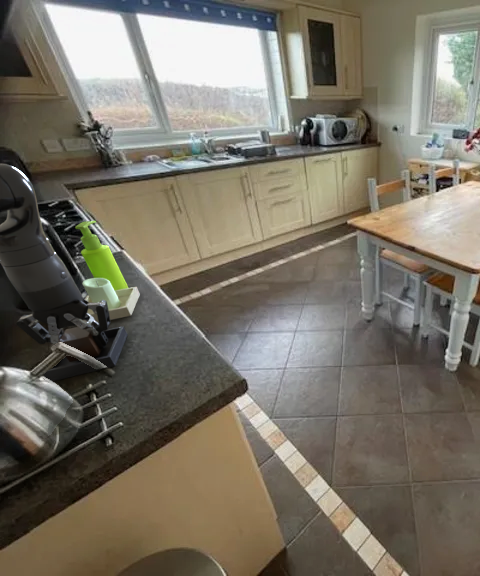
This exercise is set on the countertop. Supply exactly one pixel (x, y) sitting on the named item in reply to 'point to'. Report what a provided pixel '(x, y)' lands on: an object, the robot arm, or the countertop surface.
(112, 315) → the cream tray
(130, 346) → the countertop surface
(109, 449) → the countertop surface
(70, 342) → the walnut block
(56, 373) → the charcoal tray
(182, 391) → the countertop surface
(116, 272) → the soap dispenser
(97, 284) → the candle
